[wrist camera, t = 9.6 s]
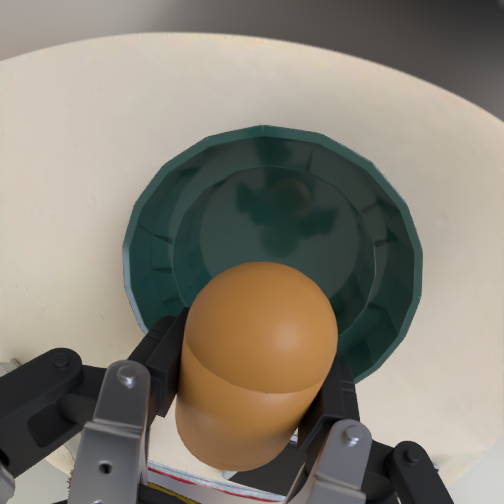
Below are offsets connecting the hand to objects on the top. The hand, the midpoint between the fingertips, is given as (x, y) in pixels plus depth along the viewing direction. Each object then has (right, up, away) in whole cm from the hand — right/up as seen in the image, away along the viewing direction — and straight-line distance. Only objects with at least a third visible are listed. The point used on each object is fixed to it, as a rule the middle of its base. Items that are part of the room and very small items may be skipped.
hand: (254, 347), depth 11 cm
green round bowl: (+1, +3, +9) cm, 10 cm away
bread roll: (0, 0, 0) cm, 0 cm away
